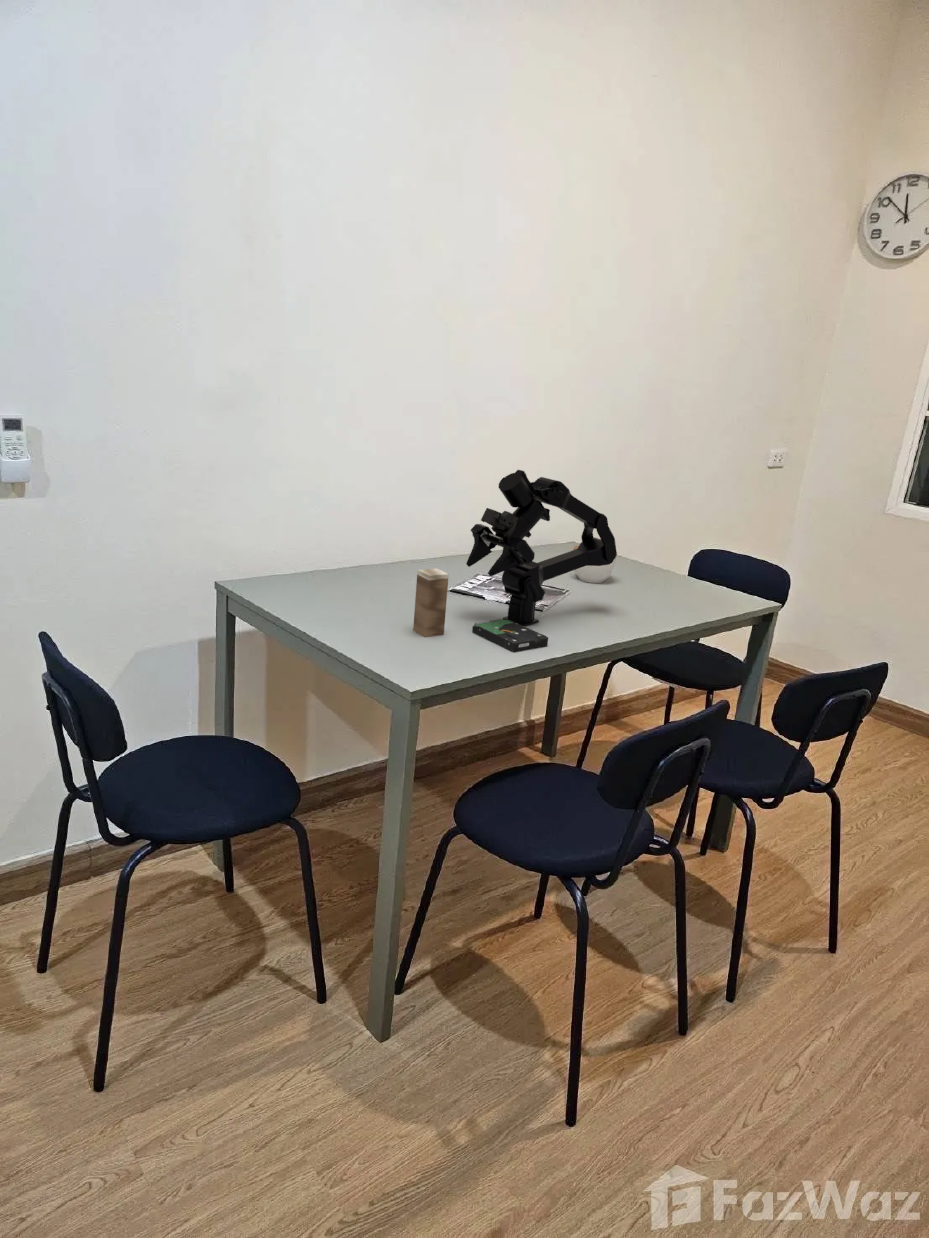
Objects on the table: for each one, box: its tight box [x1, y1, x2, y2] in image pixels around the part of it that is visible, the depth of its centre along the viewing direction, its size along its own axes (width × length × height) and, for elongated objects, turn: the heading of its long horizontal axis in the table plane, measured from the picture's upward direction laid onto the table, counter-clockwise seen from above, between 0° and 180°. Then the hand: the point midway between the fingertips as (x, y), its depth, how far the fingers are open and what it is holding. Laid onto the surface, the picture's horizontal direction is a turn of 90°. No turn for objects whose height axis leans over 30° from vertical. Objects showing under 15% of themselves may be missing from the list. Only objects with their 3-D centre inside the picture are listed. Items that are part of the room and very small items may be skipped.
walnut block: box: [413, 568, 450, 638], centre depth 189 cm, size 5×5×14 cm
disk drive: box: [471, 618, 549, 653], centre depth 191 cm, size 10×3×15 cm
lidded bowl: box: [573, 544, 618, 584], centre depth 249 cm, size 13×13×11 cm
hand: (478, 570), depth 193 cm, fingers open, 8 cm apart
